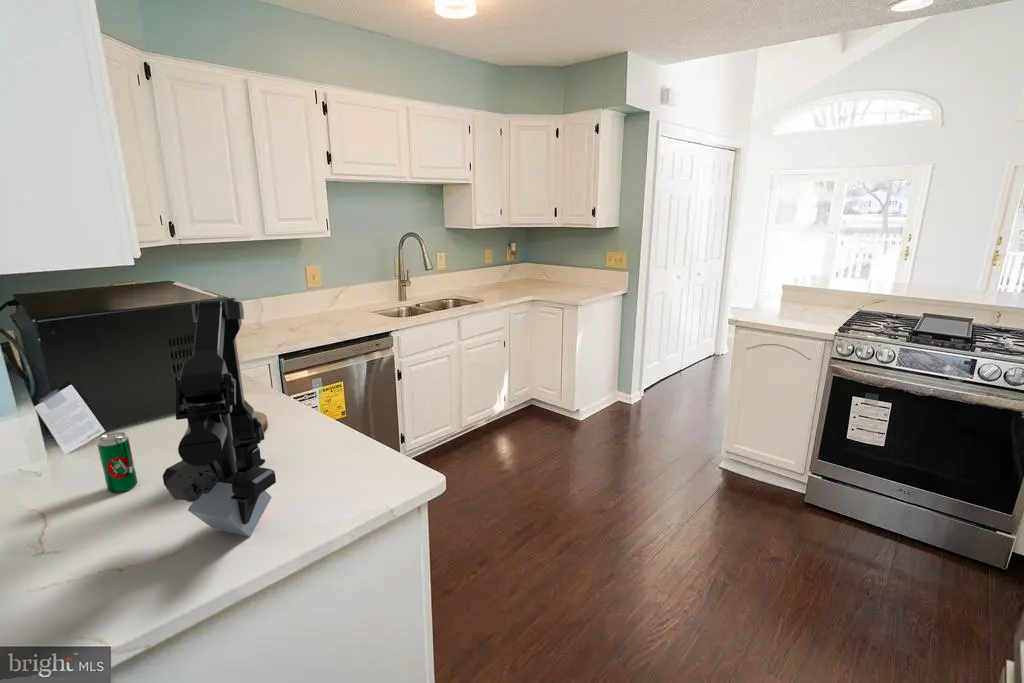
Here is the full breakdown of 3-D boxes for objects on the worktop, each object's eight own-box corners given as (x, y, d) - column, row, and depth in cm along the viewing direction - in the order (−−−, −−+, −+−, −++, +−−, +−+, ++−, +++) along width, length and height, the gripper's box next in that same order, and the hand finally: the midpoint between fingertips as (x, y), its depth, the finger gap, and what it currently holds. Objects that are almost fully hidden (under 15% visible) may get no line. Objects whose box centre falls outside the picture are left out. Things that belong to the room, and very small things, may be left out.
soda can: (118, 482, 108) (107, 431, 105) (143, 481, 108) (133, 430, 105) (102, 495, 103) (90, 442, 100) (128, 494, 103) (116, 441, 100)
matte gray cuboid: (212, 528, 92) (187, 510, 85) (236, 489, 96) (214, 469, 90) (250, 537, 90) (227, 519, 84) (271, 497, 95) (252, 477, 89)
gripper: (124, 454, 80) (142, 539, 83) (222, 467, 75) (235, 557, 79) (184, 427, 90) (197, 503, 94) (272, 437, 86) (282, 517, 90)
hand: (226, 520), depth 89 cm, fingers closed on matte gray cuboid, 8 cm apart
